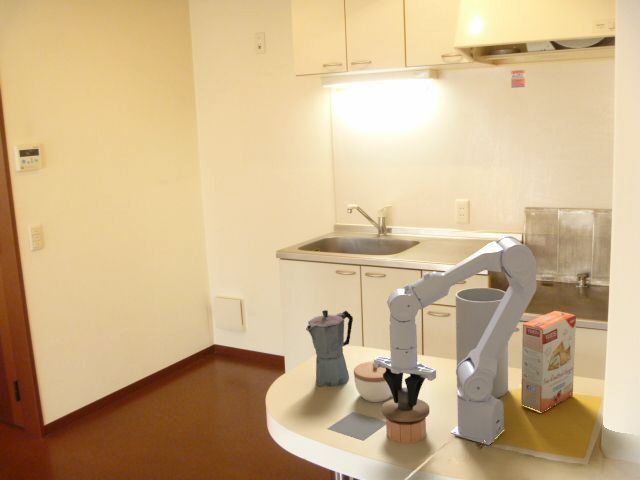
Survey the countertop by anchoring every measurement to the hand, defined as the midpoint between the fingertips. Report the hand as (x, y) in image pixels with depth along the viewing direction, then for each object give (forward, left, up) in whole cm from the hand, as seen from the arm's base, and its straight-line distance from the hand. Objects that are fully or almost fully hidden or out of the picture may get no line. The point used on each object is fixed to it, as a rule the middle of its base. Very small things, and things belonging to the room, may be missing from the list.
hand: (405, 403), depth 147 cm
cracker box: (-20, -32, -8) cm, 38 cm away
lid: (0, 0, -2) cm, 2 cm away
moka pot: (+32, -15, -8) cm, 36 cm away
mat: (+11, +3, -7) cm, 14 cm away
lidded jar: (+16, -12, -8) cm, 21 cm away
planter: (0, 0, -7) cm, 7 cm away
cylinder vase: (-4, -30, -8) cm, 31 cm away
